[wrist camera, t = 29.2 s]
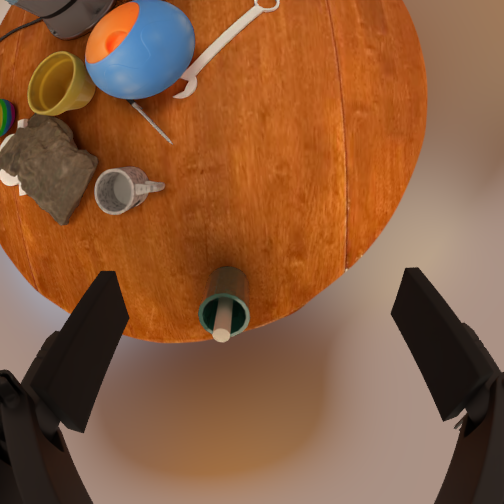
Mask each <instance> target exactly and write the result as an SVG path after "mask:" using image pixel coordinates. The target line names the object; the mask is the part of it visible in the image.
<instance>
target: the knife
mask: <svg viewBox="0 0 504 504" xmlns="http://www.w3.org/2000/svg"><path fill="white" fill-rule="evenodd" d="M126 100H127V101H128V102H129V103H130V104H131V105H132V106H133V107H134V108H136V109H137V110H138V111H139V112H140V113H141V114H142V115H143V116H144V117H145V118H146V119H147V121H148V122H149V123H150V124H151V125H152V126H153V127H154V128H155V129H156V130H157V131H158V132H159V133H160V134H161V135H162V136H163V137H164V138H165V139H166V140H167V141H168V142H170V143H171V144H173V143H172V142H171V141H170V139H169V138H168V137H167V135H166V134H165V133H164V132H163V131H162V130H161V129H160V128H159V127H158V126H157V125H156V124H155V123H154V122H153V121H152V120H151V119H150V118H149V117H148V116H147V115H146V114H145V113H144V112H143V111H142V109H143V108H142V107H141V106H139V105H138V104H137V103H136V102H135V101H134V100H133V99H126Z"/></svg>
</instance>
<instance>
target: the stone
mask: <svg viewBox="0 0 504 504" xmlns="http://www.w3.org/2000/svg"><path fill="white" fill-rule="evenodd" d="M27 123H28V125H27V126H26V127H25V128H22V127H19V128H17V131H16V133H15V134H14V135H13V136H12V137H11V138H10V139H9V140H8V142H7V143H6V144H5V146H4V147H3V148H2V149H1V151H0V170H1V169H3V170H4V171H6V173H8V174H9V175H10V176H13V177H15V176H16V175H17V177H18V180H19V181H20V182H21V188H22V190H23V191H25V192H26V193H27V194H28V196H30V197H32V198H33V199H34V200H35V201H36V203H37V204H38V205H39V207H40V208H41V209H43V210H45V211H46V212H48V213H50V215H51V216H52V217H53V218H54V220H55V221H57V222H58V223H59V224H60V225H67V224H68V223H69V218H70V216H71V215H72V213H73V212H74V210H75V208H76V207H78V206H79V203H80V200H81V198H82V195H83V193H84V191H85V190H86V188H87V186H88V184H89V182H90V180H91V178H92V176H93V174H94V172H95V170H96V167H97V165H98V159H97V157H96V156H93V155H91V154H89V153H88V151H87V150H85V149H84V150H78V148H77V146H76V144H75V143H74V141H73V132H72V130H71V129H70V128H69V126H68V125H67V124H66V123H65V122H63V121H62V120H61V119H59V118H56V117H54V116H48V115H40V114H37V113H35V114H34V115H33V116H32V117H31V118H30V119H29V120H28V121H27Z"/></svg>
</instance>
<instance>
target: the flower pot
mask: <svg viewBox="0 0 504 504" xmlns="http://www.w3.org/2000/svg"><path fill="white" fill-rule="evenodd" d="M95 89H96V85H95V83H94V82H93V80H92V79H91V77H90V75H89V73H88V71H87V70H86V69H85V65H84V63H83V61H82V60H81V59H80V58H78V57H77V56H75V55H73V54H71V53H69V52H66V51H59V52H55V53H53V54H51V55H49V56H48V57H47V58H45V59H44V60H43V61H42V62H41V63H40V64H39V66H38V67H37V68H36V70H35V71H34V73H33V75H32V77H31V80H30V82H29V86H28V92H27V98H28V104H29V106H30V108H31V110H32V111H33V112H35V113H37V114H40V115H49V116H54V115H59V114H61V113H63V112H65V111H67V110H74V109H80V108H82V107H84V106H85V105H87V104H88V103H89V102H90V100H91V99H92V97H93V96H94V93H95Z"/></svg>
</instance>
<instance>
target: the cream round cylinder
mask: <svg viewBox="0 0 504 504" xmlns="http://www.w3.org/2000/svg"><path fill="white" fill-rule="evenodd" d="M232 307H233V299H230V298H227V297H221V298H219V301H218V307H217V312H216V318H215V324H214V329H213V338H214V339H215V340H216V341H218V342H225V341H227V340H228V339H229V338H230V331H231V319H232Z"/></svg>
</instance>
